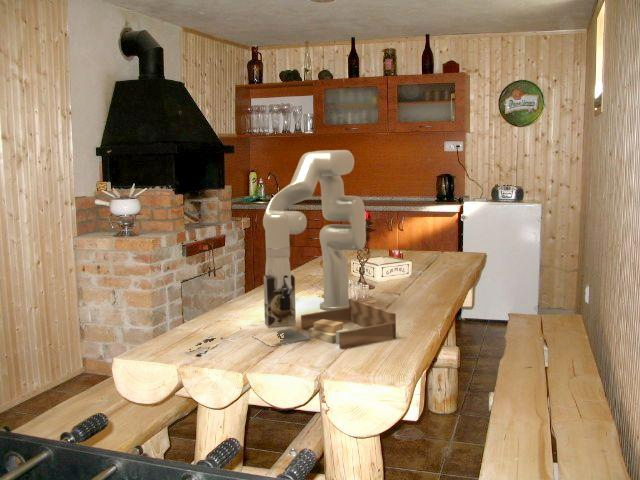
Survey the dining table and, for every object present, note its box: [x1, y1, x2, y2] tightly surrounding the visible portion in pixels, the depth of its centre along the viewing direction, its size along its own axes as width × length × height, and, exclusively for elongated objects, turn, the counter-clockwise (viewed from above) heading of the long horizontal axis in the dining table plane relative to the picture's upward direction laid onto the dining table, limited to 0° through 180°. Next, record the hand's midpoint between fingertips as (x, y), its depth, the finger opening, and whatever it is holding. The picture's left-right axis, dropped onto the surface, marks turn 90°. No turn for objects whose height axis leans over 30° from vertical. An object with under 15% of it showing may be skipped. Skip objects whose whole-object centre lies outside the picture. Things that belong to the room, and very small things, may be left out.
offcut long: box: [308, 327, 336, 344], centre depth 208 cm, size 12×6×3 cm, turn 38°
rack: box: [300, 298, 397, 350], centre depth 211 cm, size 26×20×8 cm
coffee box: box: [263, 274, 297, 329], centre depth 207 cm, size 9×6×16 cm
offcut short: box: [313, 319, 344, 334], centre depth 207 cm, size 8×5×2 cm, turn 54°
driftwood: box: [188, 335, 216, 355], centre depth 203 cm, size 21×7×2 cm, turn 162°
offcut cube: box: [335, 328, 349, 345], centre depth 201 cm, size 4×4×4 cm
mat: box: [253, 328, 312, 346], centre depth 209 cm, size 14×14×1 cm
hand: (279, 307), depth 207 cm, fingers closed on coffee box, 7 cm apart
